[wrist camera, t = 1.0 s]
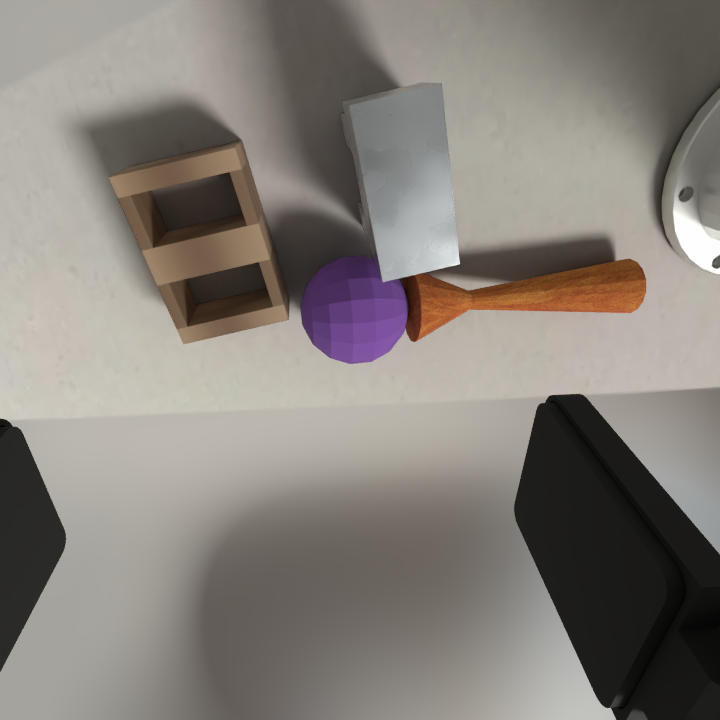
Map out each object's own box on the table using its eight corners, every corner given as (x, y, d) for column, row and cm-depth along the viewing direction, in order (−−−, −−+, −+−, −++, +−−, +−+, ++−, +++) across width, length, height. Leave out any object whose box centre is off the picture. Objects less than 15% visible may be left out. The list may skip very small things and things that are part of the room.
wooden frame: (241, 140, 25) (235, 147, 22) (289, 298, 30) (288, 319, 27) (128, 167, 25) (108, 177, 22) (193, 321, 30) (183, 344, 27)
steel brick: (406, 81, 24) (441, 83, 18) (425, 224, 28) (459, 264, 22) (336, 98, 24) (348, 105, 18) (365, 238, 28) (382, 282, 22)
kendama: (636, 353, 30) (309, 390, 27) (585, 300, 34) (299, 326, 31) (680, 267, 26) (304, 299, 23) (616, 219, 30) (293, 240, 27)
